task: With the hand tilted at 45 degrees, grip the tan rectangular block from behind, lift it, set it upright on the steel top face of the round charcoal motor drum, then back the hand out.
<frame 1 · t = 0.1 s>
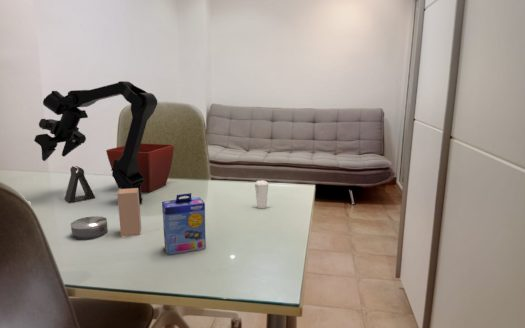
hand: (53, 158, 138), 15 cm above the table, tool tilted 35°, fingers open, 9 cm apart
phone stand: (80, 199, 139), on the table
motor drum: (90, 233, 105), on the table
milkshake: (263, 207, 127), on the table
tan rectangular block: (131, 232, 106), on the table
ink cartridge box: (185, 249, 95), on the table
plant pot: (144, 188, 153), on the table
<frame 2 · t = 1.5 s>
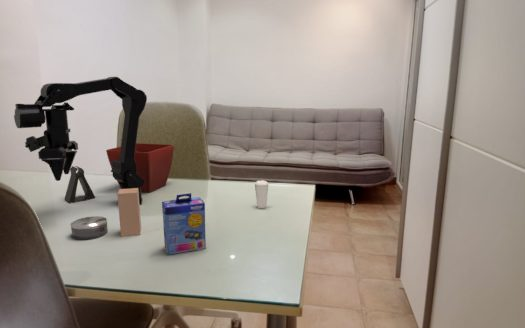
hand: (62, 177, 116), 13 cm above the table, tool pointing down, fingers open, 9 cm apart
nothing on the table moved.
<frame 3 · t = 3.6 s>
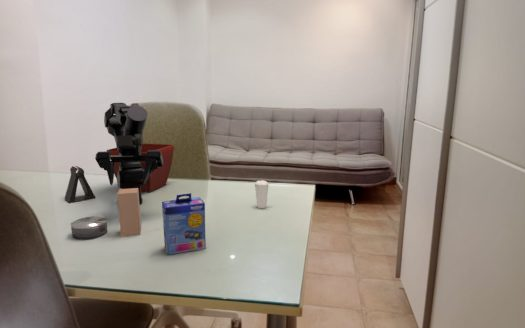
hand: (127, 184, 110), 12 cm above the table, tool tilted 40°, fingers open, 9 cm apart
plant pot: (144, 188, 154), on the table, touching arm
everything else where it was.
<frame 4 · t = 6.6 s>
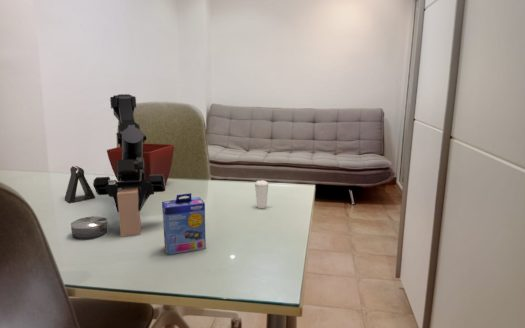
hand: (128, 211, 103), 7 cm above the table, tool tilted 45°, fingers closed on tan rectangular block, 5 cm apart
tan rectangular block: (131, 232, 106), on the table, touching gripper
plant pot: (144, 188, 154), on the table
everything else where it was.
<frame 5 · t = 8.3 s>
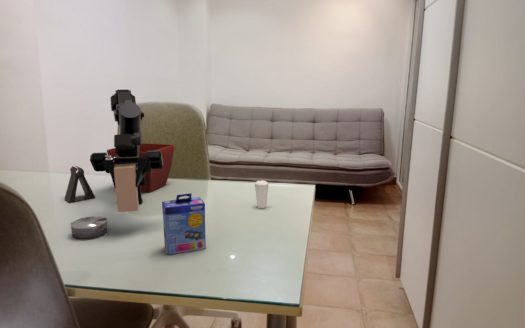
hand: (125, 186, 102), 13 cm above the table, tool tilted 45°, fingers closed on tan rectangular block, 5 cm apart
tan rectangular block: (128, 208, 104), point 7 cm above the table, touching gripper
everything else where it was.
when the fingers open (11 cm above the table, at t = 10.4 s): tan rectangular block drops 1 cm, resting on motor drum.
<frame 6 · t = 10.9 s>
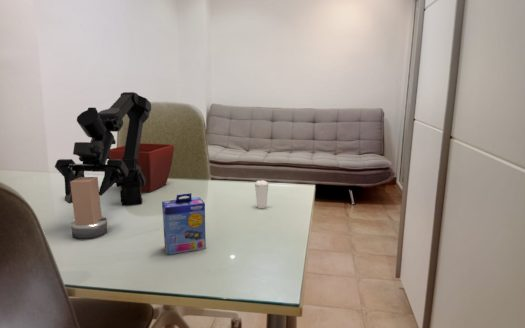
hand: (83, 194, 101), 12 cm above the table, tool tilted 45°, fingers open, 9 cm apart
tan rectangular block: (88, 221, 104), point 4 cm above the table, touching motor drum
everything else where it was.
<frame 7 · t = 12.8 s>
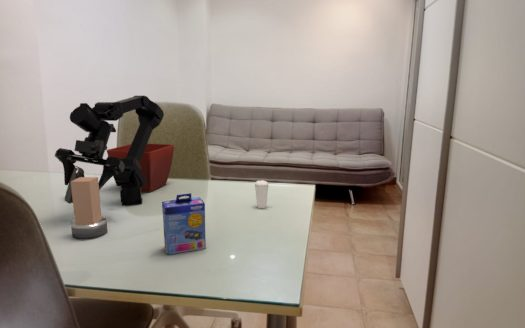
hand: (81, 187, 110), 11 cm above the table, tool tilted 35°, fingers open, 9 cm apart
nothing on the table moved.
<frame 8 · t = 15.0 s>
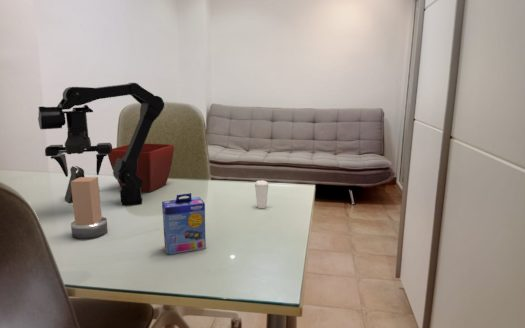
hand: (82, 175, 122), 12 cm above the table, tool pointing down, fingers open, 9 cm apart
nothing on the table moved.
at the end: tan rectangular block 0.0 cm off-centre on the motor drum, point 3.5 cm above the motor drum's base; tan rectangular block tilted 0°; the gripper is holding nothing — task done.
